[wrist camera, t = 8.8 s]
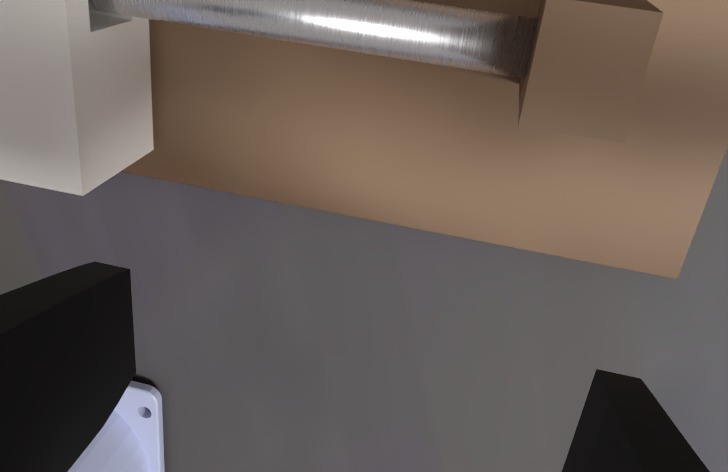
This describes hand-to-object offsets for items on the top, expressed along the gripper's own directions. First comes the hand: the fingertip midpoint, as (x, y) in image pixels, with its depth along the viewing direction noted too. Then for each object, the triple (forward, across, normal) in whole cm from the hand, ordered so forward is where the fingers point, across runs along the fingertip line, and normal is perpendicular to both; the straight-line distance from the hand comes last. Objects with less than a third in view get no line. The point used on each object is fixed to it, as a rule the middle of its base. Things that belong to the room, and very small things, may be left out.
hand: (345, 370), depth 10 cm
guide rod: (+7, +7, -4) cm, 10 cm away
